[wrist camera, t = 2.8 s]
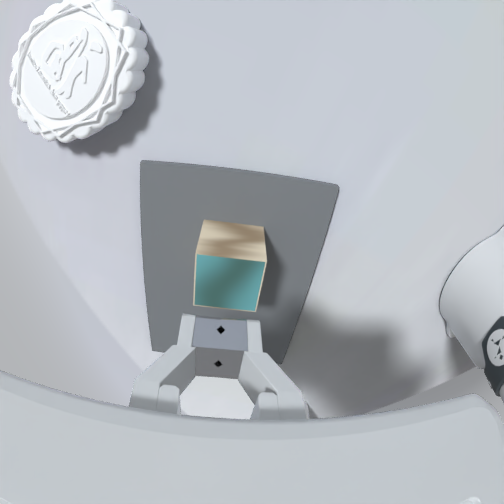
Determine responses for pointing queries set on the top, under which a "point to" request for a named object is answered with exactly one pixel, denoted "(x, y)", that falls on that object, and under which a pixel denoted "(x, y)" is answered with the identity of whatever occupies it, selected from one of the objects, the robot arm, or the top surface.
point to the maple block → (229, 266)
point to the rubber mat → (233, 211)
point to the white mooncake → (78, 68)
